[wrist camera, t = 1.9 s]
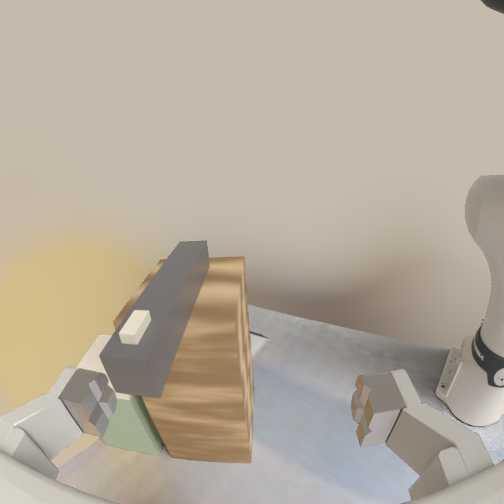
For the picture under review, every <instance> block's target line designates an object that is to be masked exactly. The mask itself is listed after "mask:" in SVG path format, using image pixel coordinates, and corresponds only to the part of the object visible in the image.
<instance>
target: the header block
mask: <svg viewBox="0 0 504 504" xmlns="http://www.w3.org/2000/svg"><path fill="white" fill-rule="evenodd" d="M111 337H112V335H102V334H99V336H98V338H97V339H96V340H95V342H94V343H93V344H92V346H91V347H90V348H89V350H88V351H87V353H86V354H85V356H84V357H83V358H82V360H81V361H80V363H79V364H78V366H77V367H76V368H81V369H86V370H91V371H96V372H101V373H104V374H106V376H107V378H108V380H109V382H108V385H109V386H110V387H111V388H112V389H113V390H114V388H113V386H112V384H111V382H110V379H109V377H108V375H107V373H106V371H105V369H104V366H103V364H102V362H101V359H100V357H99V355H100V353H101V352H102V350H103V349H104V347H105V345H106V344H107V342H108V341H109V339H110V338H111ZM114 392H115V390H114ZM115 394H116V399H117V404H116V410H115V412H114V414H113V415H112V416H110V417H109V418H108V421H109V425H108V427H107V430H106V432H105V434H104V436H103V437H100V438H101V440H102V441H103V442H104V444H105V445H109V446H113V447H118V448H122V449H127V450H131V451H136V452H142V453H147V454H153V455H159V456H160V453H161V449H162V445H163V440H162V438H161V436H160V434H159V432H158V430H157V428H156V426H155V424H154V422H153V420H152V418H151V416H150V414H149V412H148V410H147V408H146V405H145V403H144V401H143V399H142V396H137V395H130V394H123V393H116V392H115Z"/></svg>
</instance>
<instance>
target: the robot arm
mask: <svg viewBox="0 0 504 504" xmlns="http://www.w3.org/2000/svg"><path fill="white" fill-rule="evenodd" d="M481 1H482V2H483V3H484V4H485V5H486V6H487V7H489V8H491V9H493V10H496V11H498V12H500V13H503V14H504V0H481ZM465 218H466V224H467V227H468V230H469V232H470V234H471V236H472V238H473V240H474V241H475V242H476V243H477V245H478V246H479V247H480V249H481V250H482V251H483V253H484V255H485V257H486V259H487V262H488V265H489V268H490V273H491V281H492V288H491V295H490V300H489V305H488V308H487V312H486V315H485V319H484V320H483V321H484V322H483V323H482V325H481V326H480V328H479V329H478V330H477V332H476V334H475V335H470V336H467V337H466V338H464V340H463V343H462V345H461V347H455V348H451V349H450V351H449V353H448V356H447V360H446V363H445V366H444V369H443V372H442V374H441V377H440V380H439V383H438V386H437V388H436V391H435V394H436V395H437V397H439V398H440V399H441V400H442V401H444V402H445V403H446V404H447V405H448V407H449V409H450V410H451V412H452V413H453V414H454V415H455V416H456V417H457V418H458V419H460V420H461V421H463V422H465V423H467V424H470V425H473V426H487V425H491V424H493V423H495V422H496V421H498V420H499V419H500V418H501V417H502V415H503V414H504V175H489V176H481V177H479V178H478V179H477V180H476V181H475V182H474V184H473V185H472V187H471V189H470V190H469V193H468V195H467V199H466V204H465ZM108 382H109V380H108V378H107V376H106V374H104V373H101V372H96V371H91V370H86V369H81V368H76V367H71V366H69V367H67V368H66V369H65V370H64V371H63V373H62V374H61V375H60V377H59V378H58V380H57V381H56V383H55V384H54V385H53V387H52V388H51V390H50V391H49V392H48V394H47V395H45V394H43V395H41V396H40V397H38V398H36V399H34V400H32V401H30V402H28V403H27V404H25V405H23V406H21V407H19V408H17V409H15V410H13V411H12V412H10V413H8V414H6V415H4V416H2V417H0V504H119V503H115V502H112V501H109V500H106V499H103V498H100V497H97V496H94V495H91V494H88V493H85V492H83V491H80V490H78V489H75V488H73V487H70V486H68V485H65V484H63V483H61V482H58V481H56V480H55V479H56V477H57V475H58V472H59V470H58V468H57V467H56V466H55V465H54V464H53V463H52V462H51V461H50V460H51V459H53V458H54V457H55V456H57V455H58V454H59V453H60V452H62V451H63V450H64V449H65V448H66V447H68V446H69V445H70V444H72V443H73V442H74V441H75V440H77V439H78V438H79V437H80V436H82V435H83V433H87V434H91V435H95V436H99V437H103V436H104V434H105V432H106V430H107V427H108V425H109V421H108V418H109V417H110V416H112V415H113V414H114V412H115V410H116V404H117V399H116V394H115V392H114V390H113V389H112V388H111V387H110V386H109V385H108ZM442 387H443V388H442ZM356 388H357V391H355V392H354V393H353V396H352V404H351V409H352V416H353V420H354V421H355V422H356V423H358V424H359V425H358V428H357V431H356V432H357V436H358V440H359V444H360V447H365V446H372V445H377V444H383V443H386V445H387V446H388V447H389V448H390V449H391V450H392V451H393V452H394V453H396V454H397V455H398V456H399V457H400V458H401V459H402V460H403V461H404V462H405V463H407V464H408V465H409V466H410V467H411V468H412V469H413V470H414V471H415V472H417V473H418V474H419V475H420V477H419V478H418V479H417V480H416V481H415V483H414V484H413V485H412V486H411V487H410V489H409V493H410V497H411V501H408V502H405V503H402V504H504V460H503V461H501V462H499V463H497V464H495V465H494V464H493V462H492V460H491V458H490V455H489V453H488V451H487V449H486V447H485V445H484V443H483V441H482V439H481V437H480V435H479V434H477V433H475V432H473V431H472V430H470V429H468V428H467V427H465V426H463V425H462V424H460V423H458V422H457V421H455V420H453V419H451V418H450V417H448V416H447V415H445V414H443V413H442V412H440V411H438V410H437V409H435V408H433V407H432V406H430V405H428V404H427V403H425V404H422V402H421V400H420V398H419V396H418V394H417V392H416V390H415V388H414V386H413V384H412V382H411V380H410V378H409V376H408V374H407V372H406V370H404V369H398V370H392V371H386V372H380V373H373V374H367V375H360V376H358V378H357V380H356Z"/></svg>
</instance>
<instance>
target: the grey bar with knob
mask: <svg viewBox="0 0 504 504" xmlns="http://www.w3.org/2000/svg"><path fill="white" fill-rule="evenodd" d="M209 267H210V265H209V256H208V247H207V241H188V242H179V244H178V245H177V247H176V248H175V249H174V250H173V252H172V253H171V254H170V256H169V257H168V258H167V259H166V261H165V262H164V263H163V265H162V266H161V267H160V269H159V270H158V271H157V273H156V274H155V275H154V277H153V278H152V280H151V281H150V282H149V284H148V285H147V286H146V288H145V289H144V291H143V292H142V293H141V295H140V296H139V298H138V299H137V300H136V302H135V303H134V305H133V306H132V307H131V309H130V310H129V312H128V313H127V315H126V316H125V317H124V319H123V320H122V322H121V323H120V325H119V326H118V328H117V329H116V331H115V332H114V334H113V335H112V337H111V338H110V339H109V341H108V342H107V344H106V345H105V347H104V349H103V350H102V352H101V353H100V355H99V357H100V359H101V362H102V364H103V366H104V369H105V371H106V373H107V375H108V377H109V379H110V382H111V384H112V386H113V388H114V390H115V392H116V393H123V394H130V395H137V396H145V397H153V398H161V395H162V392H163V389H164V386H165V384H166V381H167V378H168V375H169V372H170V370H171V367H172V364H173V361H174V359H175V356H176V353H177V350H178V348H179V345H180V342H181V340H182V337H183V334H184V332H185V329H186V326H187V324H188V321H189V318H190V316H191V313H192V311H193V308H194V305H195V303H196V300H197V298H198V295H199V292H200V290H201V287H202V285H203V282H204V280H205V277H206V275H207V272H208V270H209Z"/></svg>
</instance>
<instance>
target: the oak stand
mask: <svg viewBox="0 0 504 504" xmlns="http://www.w3.org/2000/svg"><path fill="white" fill-rule="evenodd" d="M165 261H166V259H165V260H160V261H159V262H158V263H157V265H156V266H155V267H154V268H153V270H152V271H151V272H150V274H149V275H148V276H147V277H146V279H145V280H144V281H143V283H142V284H141V285H140V287H139V288H138V289H137V291H136V292H135V293H134V294H133V296H132V297H131V298H130V300H129V301H128V302H127V304H126V305H125V306H124V308H123V309H122V311H121V312H120V313H119V315H118V316H117V317H116V319H115V320H114V321H113V323H114V326H115V329H117V328H118V326H119V325H120V323H121V322H122V320H123V319H124V317H125V316H126V315H127V313H128V312H129V310H130V309H131V307H132V306H133V305H134V303H135V302H136V300H137V299H138V298H139V296H140V295H141V293H142V292H143V291H144V289H145V288H146V286H147V285H148V284H149V282H150V281H151V280H152V278H153V277H154V275H155V274H156V273H157V271H158V270H159V269H160V267H161V266H162V265H163V263H164V262H165ZM209 265H210V267H209V270H208V272H207V275H206V277H205V280H204V282H203V285H202V287H201V290H200V292H199V295H198V298H197V300H196V303H195V305H194V308H193V311H192V313H191V316H190V318H189V321H188V324H187V326H186V329H185V332H184V334H183V337H182V340H181V342H180V345H179V348H178V350H177V353H176V356H175V359H174V361H173V364H172V367H171V370H170V372H169V375H168V378H167V381H166V384H165V386H164V389H163V392H162V395H161V398H153V397H145V396H142V399H143V401H144V403H145V405H146V408H147V410H148V412H149V414H150V416H151V418H152V420H153V422H154V424H155V426H156V428H157V430H158V432H159V434H160V436H161V438H162V440H163V442H164V444H165V446H166V448H167V450H168V451H169V453H170V455H171V457H172V458H179V459H187V460H197V461H210V462H227V463H251V453H252V430H253V405H254V381H253V369H252V356H251V343H250V330H249V316H248V303H247V289H246V275H245V261H244V257H219V258H209Z"/></svg>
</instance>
